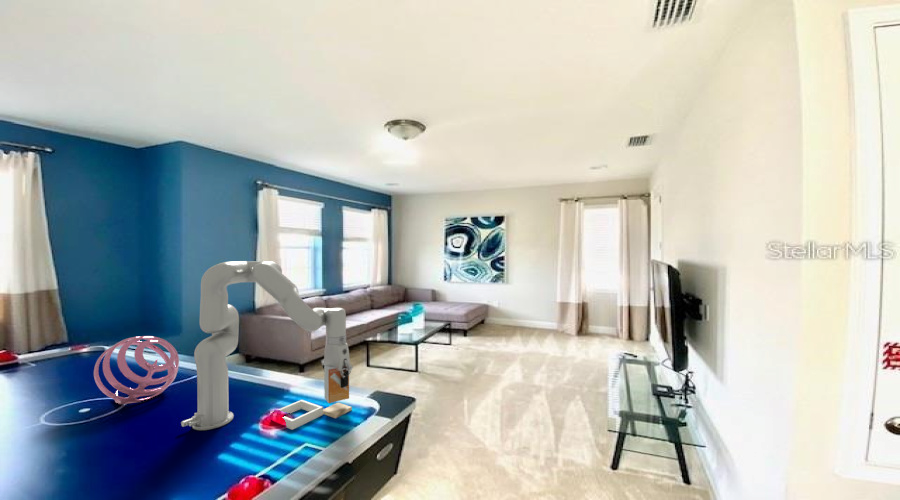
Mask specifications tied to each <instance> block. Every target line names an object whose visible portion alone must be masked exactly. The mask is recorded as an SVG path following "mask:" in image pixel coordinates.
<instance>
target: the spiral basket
mask: <svg viewBox="0 0 900 500" xmlns="http://www.w3.org/2000/svg"><path fill="white" fill-rule="evenodd" d="M140 340H141V341H140ZM142 340H145V341H142ZM155 344H158V345H160V346H162V347H164V348H165V349H166V350H167V351H168V352H169V354H170V357H169V356H168V354H166V352H165V351H164V350H162V349H161V348H160V347H158V346H157V345H155ZM130 346H136V348H135V350H134V359H135V362H136V363H137V364H138V366H139V367H141V368H142V369H144V370H145V371H147V374H146V376H140V375H138V374H136V373H135V372H133V371H132V370H131V368H130V367H129V366H128V363H127V361H126V360H127V359H126V353H127V351H128V349H129V348H130ZM119 347H120V348H119ZM116 348H119V350H118V353H117V358H116V363H117V367H118V369H119V372H120V373H122V375H123V376H124V377H126V379H128V380H130V381H131V382H133V383H136V384H138V386H137V387H136V388H131V387H128V386H126V385H124V384H122V383H121V382H119V381H118V380H117V379H116V377H115V376H114V374H113V373H112V370H111V365H110V361H111V360H110V359H111V357H112V354H113V352H114V351H115V349H116ZM145 348H147V349H150V350H153V352H155V353H157V354H158V355H159V356H160V357H161V358H162V360H163V361H164V364H161V365H158V359H157V358H156V359H155V361H154V363H152V364H151V363H150V362H148V361H147V360H146V359H145V357H144V350H145ZM178 353H179V352H178V351H177V350H176V348H175V347H174V346H173V345H172V344H171V343H170V342H168V340H166V339H164V338H162V337H161V338H160V337H157V336H153V335H142V336H133V337H128V338H125V339H122V340H121V341H119V342H116V343H115V344H114V345H112V346H110V347H108V348H107V349H106V350H104V352H103V353H101V355H100V356H99V357H98V358H97V359H96V362H95V365H94V369H93V377H94V381H95V384H96V386H97V387H98V389H99V390H100V391H101V392H102V393H103V394H104V395H106V397H108V398H111V399H113V400H114V402H115V403H116V404H117V403H118V405H127V404H133V403H134V404H135V403H142V402H141V401H143V402H145V401H144V400H146V401H149V400H152V399H154V398H155V396H156V397H157V396H159V395H160V394H162V393H163V392H164V391H165V390H166V389H168V387H169V386H170V385H172V383H173V382H174V381H175V379H176V377H177V376H178V375H177V374H178V371H179V365H180V358H179V354H178ZM102 359H103V361H102ZM101 362H102V372H103V375H104V377H105V379H106V381H107V382H108V383H109V384H110V385H111V386H112V387H113V388H114V389H116V390H115V393H113V392H112V391H110V390H109V389H108V388H107V387H106V386H105V385H104V384H103V382H102V381H101V378H100V375H99V367H100V363H101ZM166 370H167V375H165V376H162V377H159V378H153V377H152V376H153V375H154V374H155V373H159V372H163V371H166ZM163 383H164V384H163ZM160 384H163V385H162V386H160V387H156V388H150V389H145V388H146V387H148V386H155V385H160ZM118 391H119V392H121V393H124V394H126V395H128V397H123V396H119V393H118ZM146 396H148V397H146ZM139 397H144V398H139ZM153 397H154V398H153ZM138 398H139V399H138ZM151 398H152V399H151ZM148 399H149V400H148Z"/></svg>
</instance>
